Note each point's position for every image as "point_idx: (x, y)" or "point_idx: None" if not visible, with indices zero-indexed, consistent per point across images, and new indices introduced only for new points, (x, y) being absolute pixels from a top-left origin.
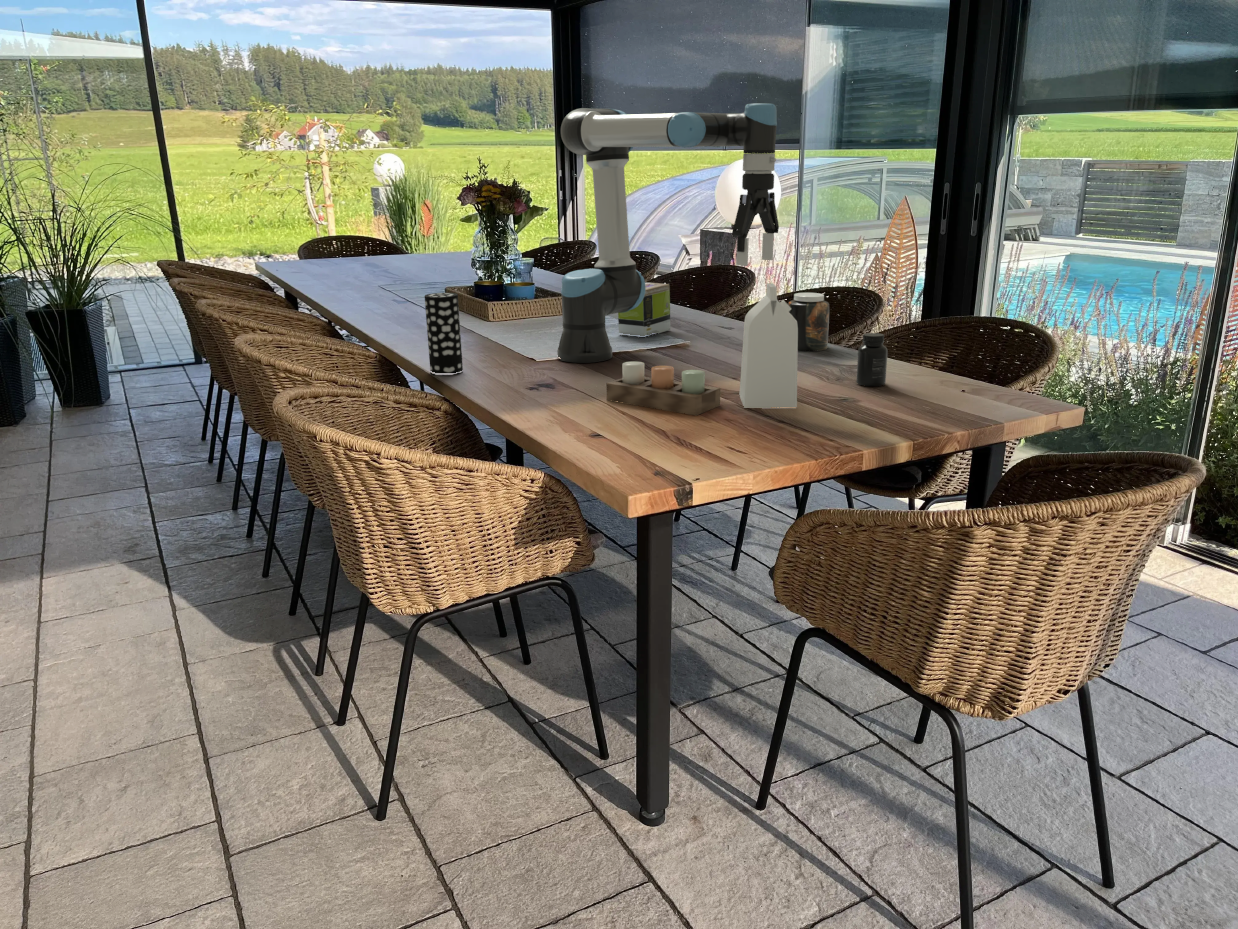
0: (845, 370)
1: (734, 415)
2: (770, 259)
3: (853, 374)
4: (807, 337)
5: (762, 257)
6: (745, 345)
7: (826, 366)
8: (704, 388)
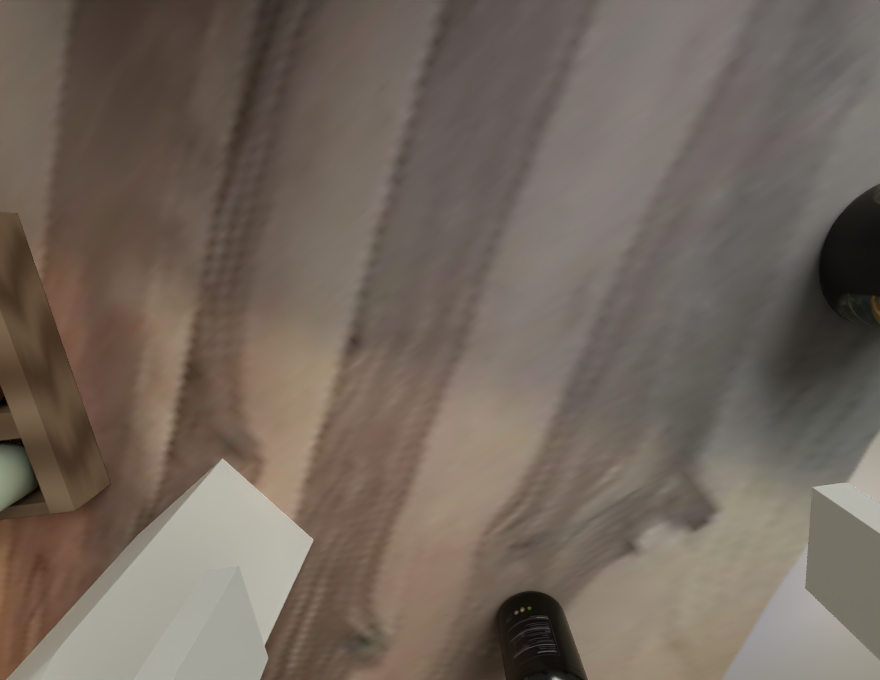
0: (632, 509)
1: (77, 551)
2: (813, 583)
3: (600, 544)
4: (868, 300)
5: (834, 508)
6: (69, 621)
7: (649, 449)
8: (17, 500)
